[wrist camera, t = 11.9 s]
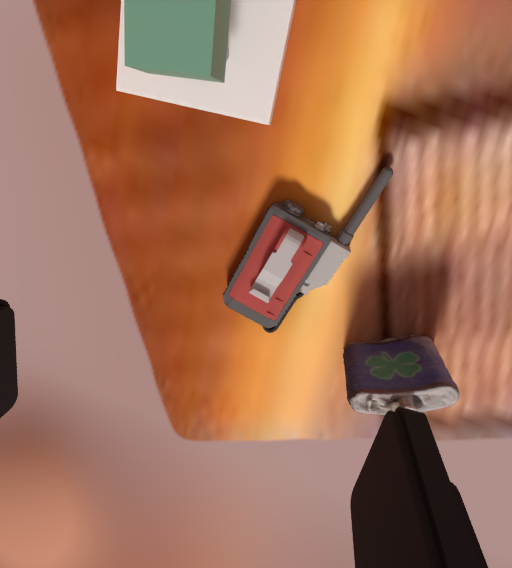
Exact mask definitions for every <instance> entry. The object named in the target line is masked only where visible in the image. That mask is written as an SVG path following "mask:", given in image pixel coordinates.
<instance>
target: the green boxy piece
mask: <svg viewBox="0 0 512 568" xmlns="http://www.w3.org/2000/svg"><path fill="white" fill-rule="evenodd" d="M230 8H231V0H124V47H125V66H127V67H130V68H133V69H136V70H139V71H142V72H145V73H149V74H157V75H165V76H173V77H181V78H189V79H197V80H205V81H213V82H221V83H224V82H225V70H226V57H227V45H228V33H229V21H230Z"/></svg>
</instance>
